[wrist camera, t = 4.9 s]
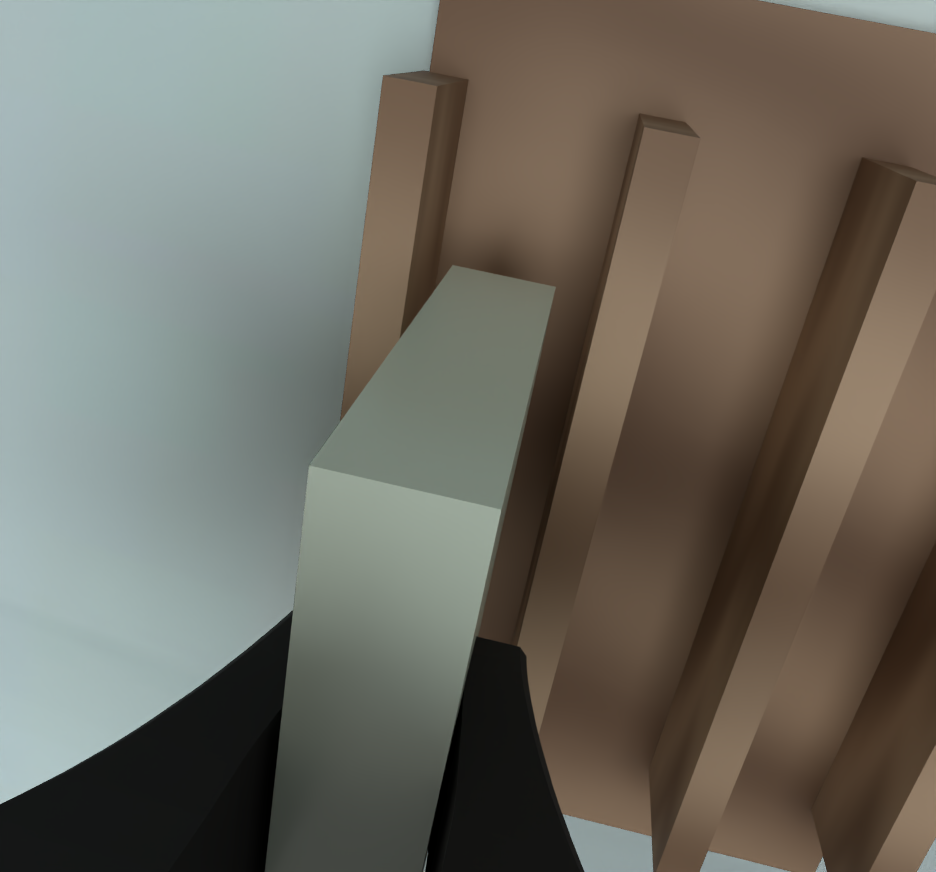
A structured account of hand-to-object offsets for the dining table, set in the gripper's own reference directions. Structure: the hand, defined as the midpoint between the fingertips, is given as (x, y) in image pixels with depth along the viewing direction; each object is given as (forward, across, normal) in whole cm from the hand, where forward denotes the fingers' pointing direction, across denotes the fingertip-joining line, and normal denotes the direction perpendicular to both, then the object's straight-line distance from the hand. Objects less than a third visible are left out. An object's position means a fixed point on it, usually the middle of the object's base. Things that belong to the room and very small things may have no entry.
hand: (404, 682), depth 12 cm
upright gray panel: (+4, 0, 0) cm, 4 cm away
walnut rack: (+8, -4, 0) cm, 9 cm away
